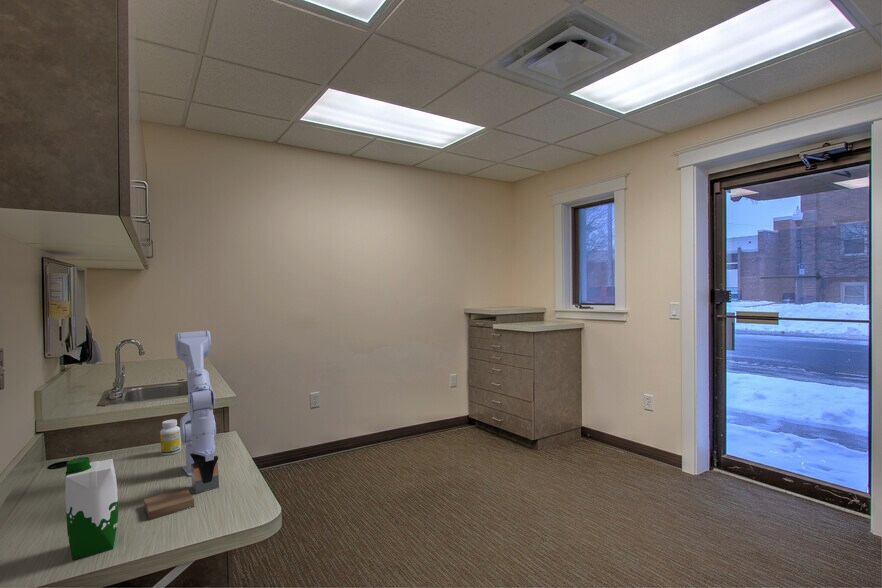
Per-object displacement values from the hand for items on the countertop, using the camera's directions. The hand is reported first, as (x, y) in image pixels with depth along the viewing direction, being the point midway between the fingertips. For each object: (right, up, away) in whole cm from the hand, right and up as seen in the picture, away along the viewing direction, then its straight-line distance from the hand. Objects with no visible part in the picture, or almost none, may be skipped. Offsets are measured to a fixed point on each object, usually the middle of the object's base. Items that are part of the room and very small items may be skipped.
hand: (205, 479), depth 131 cm
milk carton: (-9, -3, -30) cm, 31 cm away
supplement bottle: (-29, -4, +32) cm, 43 cm away
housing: (0, -2, 0) cm, 2 cm away
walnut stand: (-4, -3, -11) cm, 12 cm away
